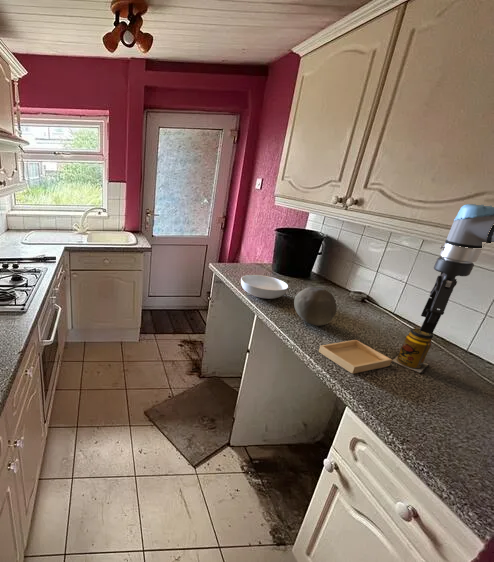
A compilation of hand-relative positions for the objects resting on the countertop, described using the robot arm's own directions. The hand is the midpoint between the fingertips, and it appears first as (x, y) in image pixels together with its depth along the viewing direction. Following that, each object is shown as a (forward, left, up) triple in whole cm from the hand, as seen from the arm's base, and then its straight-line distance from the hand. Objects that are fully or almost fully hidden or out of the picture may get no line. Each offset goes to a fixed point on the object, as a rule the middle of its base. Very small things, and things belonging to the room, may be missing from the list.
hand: (426, 324), depth 97 cm
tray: (+14, +11, -14) cm, 23 cm away
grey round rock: (+31, -6, -15) cm, 35 cm away
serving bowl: (+56, -21, -15) cm, 61 cm away
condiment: (0, 0, -15) cm, 15 cm away
